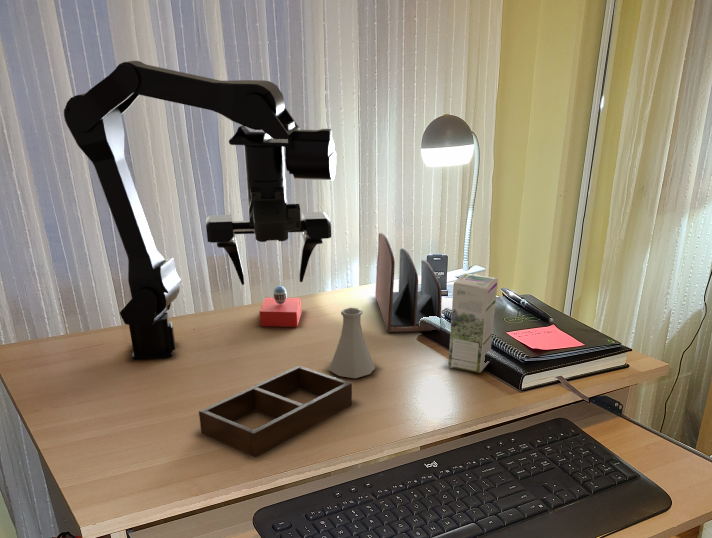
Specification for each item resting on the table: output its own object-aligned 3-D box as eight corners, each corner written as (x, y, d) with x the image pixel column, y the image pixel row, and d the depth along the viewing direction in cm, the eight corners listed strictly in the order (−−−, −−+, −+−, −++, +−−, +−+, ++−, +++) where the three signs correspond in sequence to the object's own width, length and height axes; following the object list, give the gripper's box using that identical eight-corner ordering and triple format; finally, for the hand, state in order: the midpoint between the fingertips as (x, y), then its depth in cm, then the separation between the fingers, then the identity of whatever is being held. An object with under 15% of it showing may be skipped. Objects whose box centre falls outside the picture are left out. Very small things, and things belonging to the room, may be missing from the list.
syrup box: (490, 361, 130) (499, 276, 122) (479, 374, 125) (487, 286, 117) (458, 356, 132) (465, 271, 124) (446, 368, 127) (452, 281, 119)
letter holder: (387, 333, 140) (389, 255, 133) (375, 298, 157) (376, 227, 149) (441, 331, 141) (446, 254, 134) (423, 297, 158) (426, 226, 150)
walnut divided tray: (201, 433, 107) (198, 411, 105) (299, 385, 121) (298, 365, 119) (255, 457, 102) (253, 433, 100) (352, 404, 115) (352, 383, 113)
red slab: (297, 326, 142) (295, 293, 139) (260, 326, 143) (258, 292, 139) (301, 312, 149) (300, 279, 146) (266, 311, 149) (264, 279, 146)
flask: (356, 383, 122) (355, 322, 116) (321, 371, 125) (319, 312, 120) (382, 368, 127) (383, 309, 121) (348, 358, 130) (347, 300, 125)
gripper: (201, 190, 106) (213, 302, 114) (335, 187, 109) (337, 296, 117) (201, 175, 115) (212, 279, 123) (325, 173, 118) (327, 274, 126)
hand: (272, 282), depth 122 cm, fingers open, 9 cm apart
